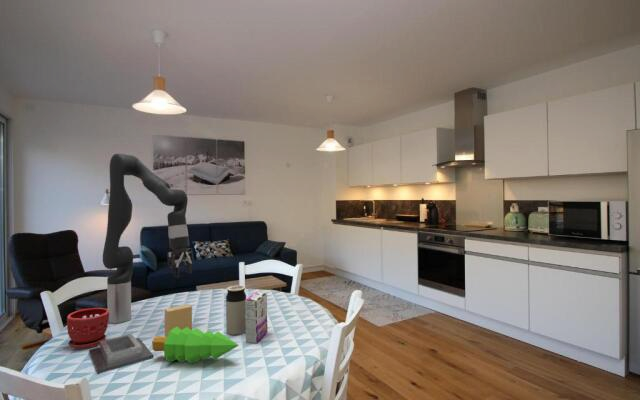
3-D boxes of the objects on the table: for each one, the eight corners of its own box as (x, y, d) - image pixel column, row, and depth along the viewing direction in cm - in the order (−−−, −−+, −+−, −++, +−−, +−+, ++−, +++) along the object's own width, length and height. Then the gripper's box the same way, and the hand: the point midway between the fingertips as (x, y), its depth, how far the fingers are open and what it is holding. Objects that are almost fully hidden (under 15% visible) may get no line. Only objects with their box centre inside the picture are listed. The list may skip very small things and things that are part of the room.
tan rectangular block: (164, 340, 129) (164, 309, 129) (188, 334, 135) (188, 304, 135) (168, 343, 126) (167, 311, 126) (192, 337, 132) (191, 306, 132)
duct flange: (88, 352, 119) (88, 341, 119) (138, 340, 129) (138, 329, 129) (97, 373, 104) (97, 361, 104) (153, 357, 114) (153, 346, 114)
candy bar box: (256, 331, 136) (255, 291, 137) (267, 332, 135) (267, 292, 136) (244, 343, 125) (244, 299, 126) (257, 344, 124) (256, 299, 125)
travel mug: (250, 329, 139) (249, 286, 139) (238, 336, 131) (237, 290, 132) (235, 326, 142) (234, 284, 142) (222, 333, 135) (221, 288, 135)
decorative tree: (160, 319, 117) (241, 319, 112) (169, 344, 121) (248, 346, 116) (140, 344, 107) (228, 346, 102) (151, 370, 111) (236, 373, 106)
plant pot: (63, 354, 117) (63, 320, 117) (71, 341, 129) (70, 310, 129) (107, 347, 123) (107, 314, 123) (110, 334, 135) (110, 305, 135)
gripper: (181, 236, 148) (185, 272, 147) (159, 238, 134) (163, 279, 133) (196, 234, 146) (200, 271, 145) (175, 236, 132) (180, 277, 131)
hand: (182, 275), depth 139 cm, fingers open, 8 cm apart
